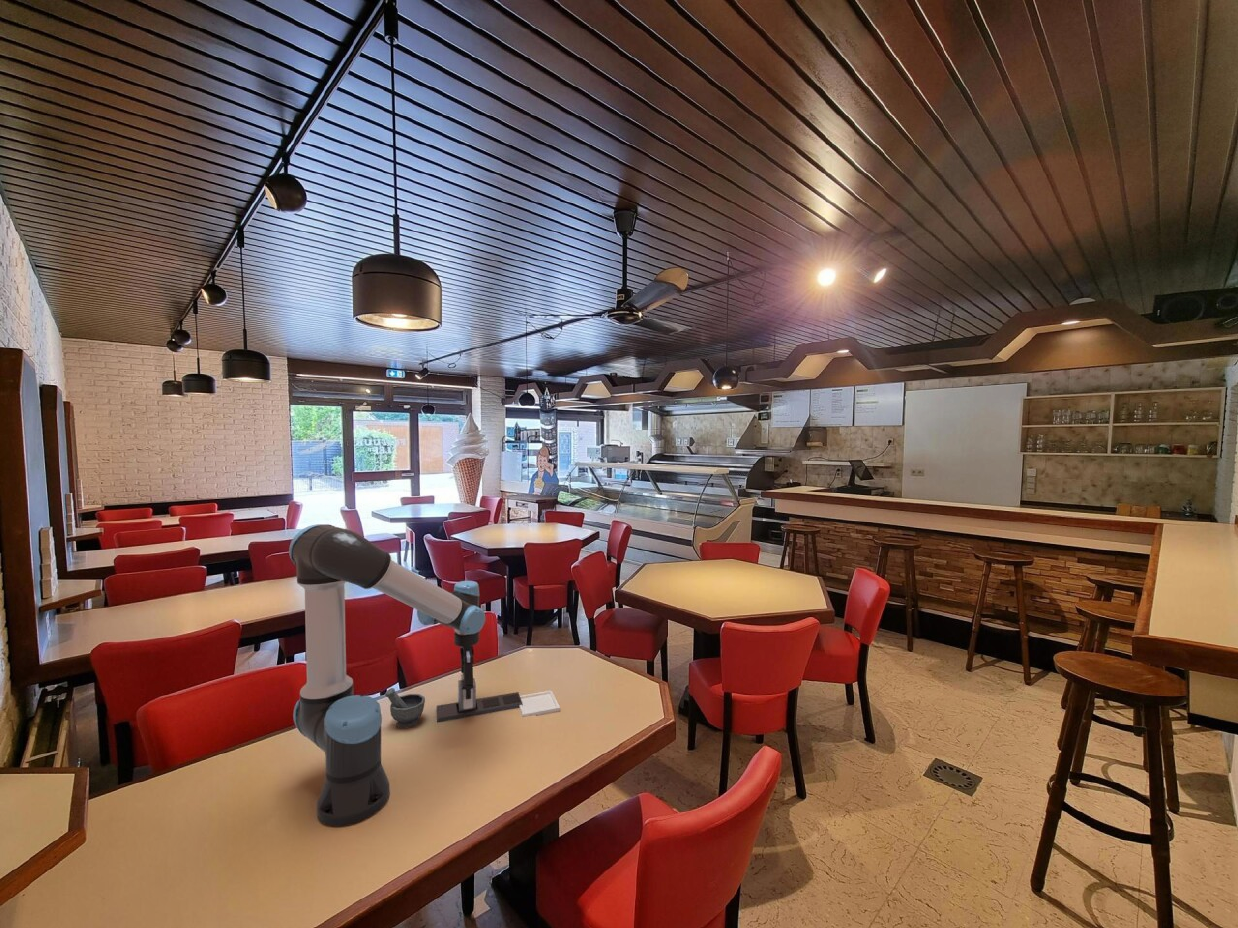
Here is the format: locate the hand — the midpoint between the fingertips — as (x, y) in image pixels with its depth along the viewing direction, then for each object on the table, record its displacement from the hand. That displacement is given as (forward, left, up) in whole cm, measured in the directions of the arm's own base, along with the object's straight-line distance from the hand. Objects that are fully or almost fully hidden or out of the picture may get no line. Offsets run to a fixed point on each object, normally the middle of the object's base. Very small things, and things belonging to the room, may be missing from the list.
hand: (466, 700), depth 158 cm
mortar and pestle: (-1, +18, -4) cm, 18 cm away
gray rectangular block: (0, 0, -3) cm, 3 cm away
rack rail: (0, -4, -4) cm, 5 cm away
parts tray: (-4, -22, -4) cm, 23 cm away
